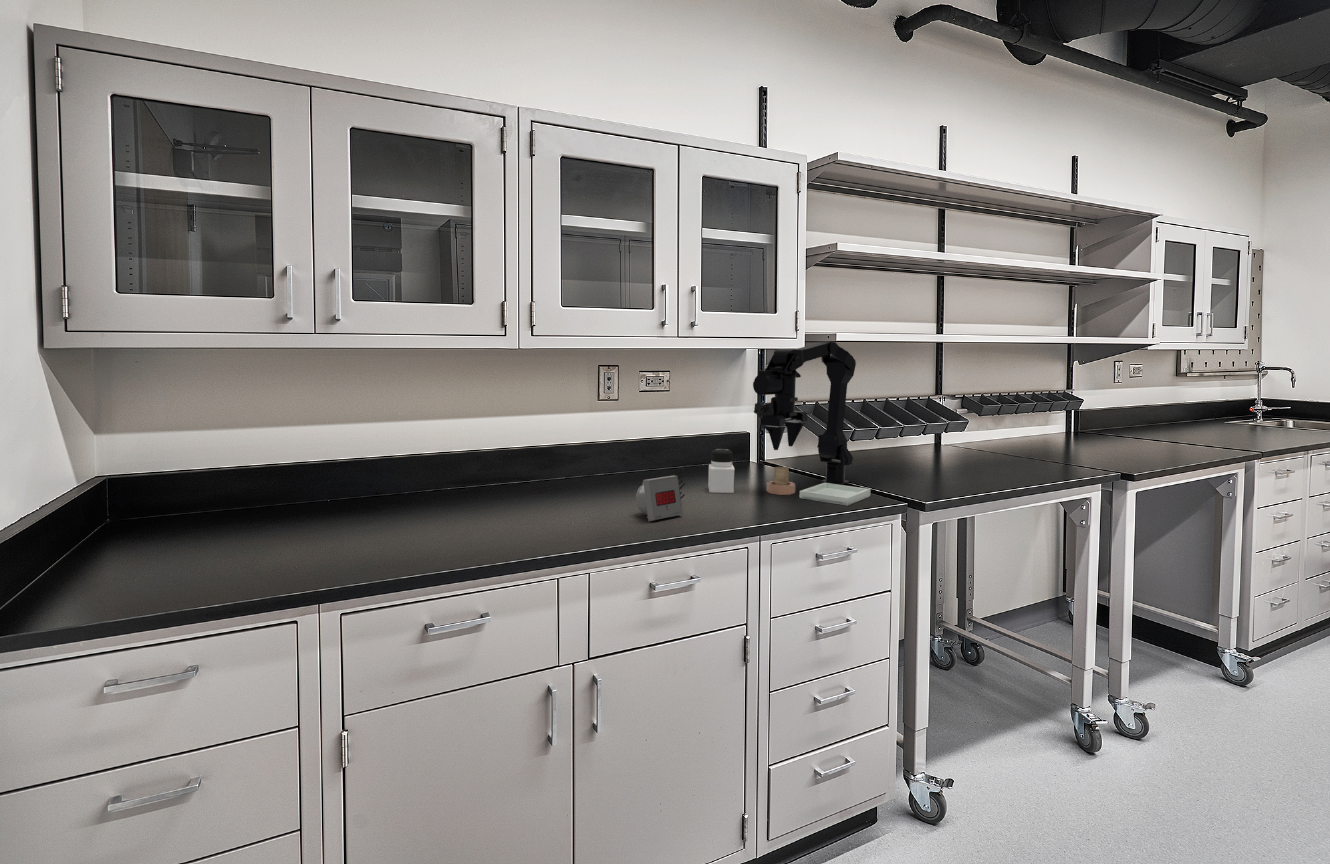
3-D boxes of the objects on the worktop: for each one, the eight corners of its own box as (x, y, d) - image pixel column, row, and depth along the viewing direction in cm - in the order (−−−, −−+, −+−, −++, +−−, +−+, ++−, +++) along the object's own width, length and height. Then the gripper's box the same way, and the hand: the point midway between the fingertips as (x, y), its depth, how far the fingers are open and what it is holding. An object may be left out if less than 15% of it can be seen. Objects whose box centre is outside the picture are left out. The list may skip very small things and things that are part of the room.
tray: (824, 489, 206) (824, 482, 206) (870, 496, 198) (870, 489, 198) (799, 498, 194) (799, 490, 193) (847, 505, 185) (847, 498, 185)
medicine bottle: (734, 493, 199) (735, 451, 197) (709, 492, 199) (710, 451, 197) (732, 488, 206) (733, 448, 204) (708, 487, 206) (709, 447, 204)
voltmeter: (676, 524, 163) (677, 483, 162) (629, 521, 165) (629, 480, 164) (696, 500, 189) (696, 464, 187) (654, 498, 191) (655, 462, 190)
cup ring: (775, 488, 207) (775, 479, 207) (798, 491, 202) (799, 483, 202) (762, 492, 201) (762, 483, 201) (786, 495, 196) (786, 487, 196)
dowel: (777, 489, 204) (778, 466, 204) (790, 491, 202) (791, 468, 201) (771, 492, 201) (772, 468, 200) (783, 493, 199) (784, 469, 198)
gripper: (774, 390, 210) (773, 442, 212) (743, 394, 195) (742, 449, 197) (809, 392, 204) (807, 445, 205) (779, 396, 189) (777, 453, 191)
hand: (783, 448), depth 200 cm, fingers open, 9 cm apart
